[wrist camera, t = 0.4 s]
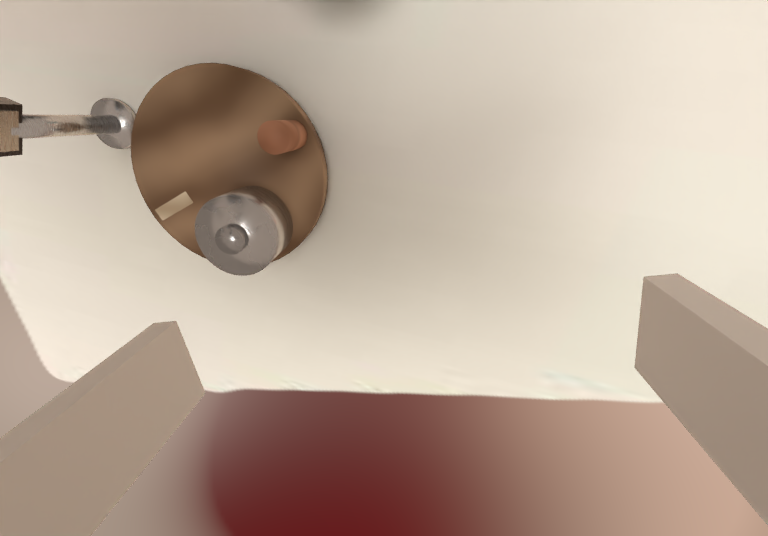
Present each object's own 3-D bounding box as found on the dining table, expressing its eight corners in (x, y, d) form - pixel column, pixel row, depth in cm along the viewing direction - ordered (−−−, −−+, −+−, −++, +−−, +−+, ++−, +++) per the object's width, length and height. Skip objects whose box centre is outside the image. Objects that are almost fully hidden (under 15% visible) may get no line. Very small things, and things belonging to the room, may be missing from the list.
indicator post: (93, 137, 36) (-77, 148, 24) (97, 90, 34) (-85, 76, 22) (137, 155, 36) (-10, 175, 24) (142, 110, 34) (-12, 107, 22)
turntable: (105, 129, 35) (41, 132, 29) (256, 21, 30) (216, -2, 24) (218, 286, 40) (183, 315, 34) (361, 214, 35) (349, 234, 30)
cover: (207, 206, 35) (170, 221, 30) (266, 172, 33) (237, 182, 28) (249, 268, 37) (221, 292, 32) (306, 239, 35) (287, 259, 30)
